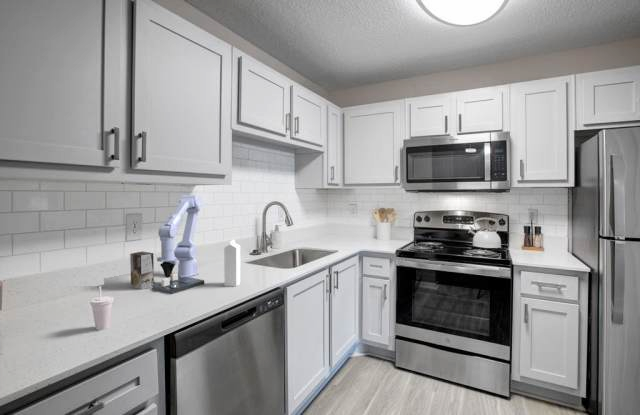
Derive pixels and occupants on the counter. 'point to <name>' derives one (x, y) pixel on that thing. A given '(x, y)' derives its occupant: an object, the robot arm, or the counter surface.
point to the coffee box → (142, 270)
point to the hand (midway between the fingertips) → (168, 277)
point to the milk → (232, 264)
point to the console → (179, 285)
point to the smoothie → (102, 311)
